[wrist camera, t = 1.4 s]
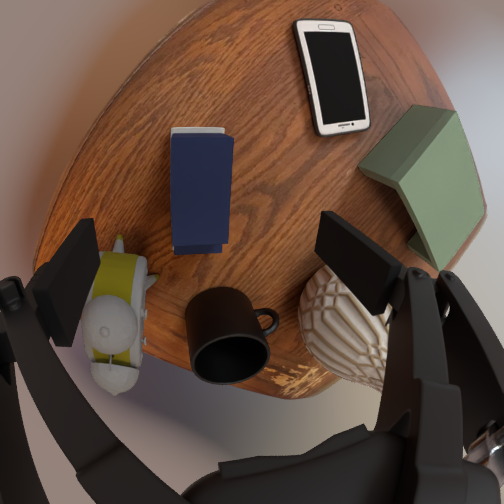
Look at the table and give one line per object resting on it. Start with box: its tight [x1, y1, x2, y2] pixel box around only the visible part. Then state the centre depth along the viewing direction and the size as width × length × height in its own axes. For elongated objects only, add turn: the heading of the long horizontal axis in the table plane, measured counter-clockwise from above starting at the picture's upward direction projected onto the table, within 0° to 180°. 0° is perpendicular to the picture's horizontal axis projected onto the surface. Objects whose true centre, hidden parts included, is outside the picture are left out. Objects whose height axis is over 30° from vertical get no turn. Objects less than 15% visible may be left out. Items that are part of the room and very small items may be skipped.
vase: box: [298, 265, 393, 394], centre depth 32 cm, size 16×16×20 cm
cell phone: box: [293, 18, 371, 137], centre depth 25 cm, size 8×15×1 cm, turn 12°
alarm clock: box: [81, 235, 159, 396], centre depth 25 cm, size 12×7×15 cm, turn 165°
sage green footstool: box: [358, 105, 484, 273], centre depth 32 cm, size 14×20×8 cm
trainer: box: [170, 127, 234, 255], centre depth 25 cm, size 13×5×8 cm, turn 175°
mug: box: [185, 287, 279, 385], centre depth 34 cm, size 9×12×9 cm
